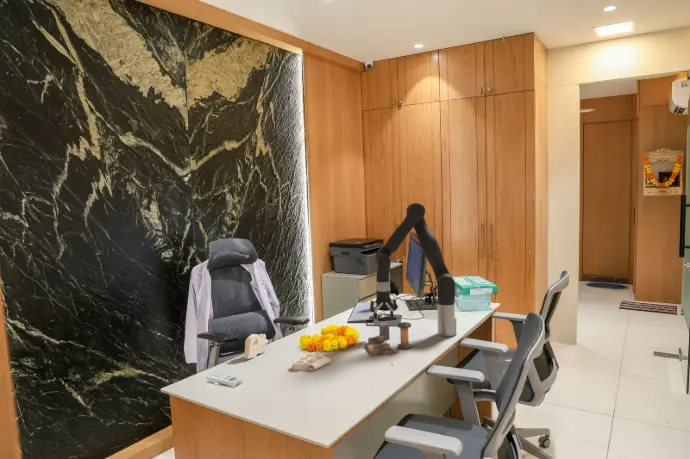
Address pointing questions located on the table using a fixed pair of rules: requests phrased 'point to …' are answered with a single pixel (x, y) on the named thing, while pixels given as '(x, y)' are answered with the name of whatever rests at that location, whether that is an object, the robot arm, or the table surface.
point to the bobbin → (404, 335)
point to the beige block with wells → (310, 361)
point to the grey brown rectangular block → (384, 330)
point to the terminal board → (378, 346)
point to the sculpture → (393, 290)
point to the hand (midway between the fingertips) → (383, 318)
